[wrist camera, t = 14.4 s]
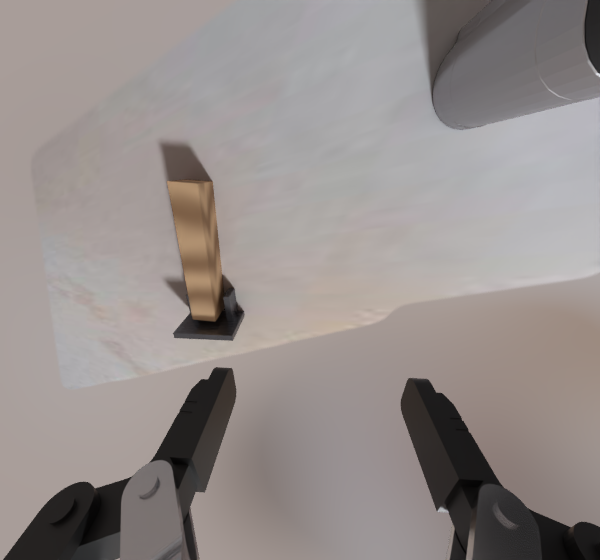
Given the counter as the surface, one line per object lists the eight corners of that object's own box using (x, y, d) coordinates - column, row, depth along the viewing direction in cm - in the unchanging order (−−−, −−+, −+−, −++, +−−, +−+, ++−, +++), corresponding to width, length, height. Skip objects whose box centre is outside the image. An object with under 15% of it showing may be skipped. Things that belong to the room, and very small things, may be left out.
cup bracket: (187, 286, 41) (165, 308, 35) (241, 288, 41) (228, 310, 35) (194, 313, 44) (174, 337, 38) (244, 315, 44) (232, 340, 37)
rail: (186, 179, 33) (167, 181, 29) (213, 181, 33) (197, 183, 29) (205, 303, 43) (192, 319, 39) (225, 305, 43) (215, 321, 39)
